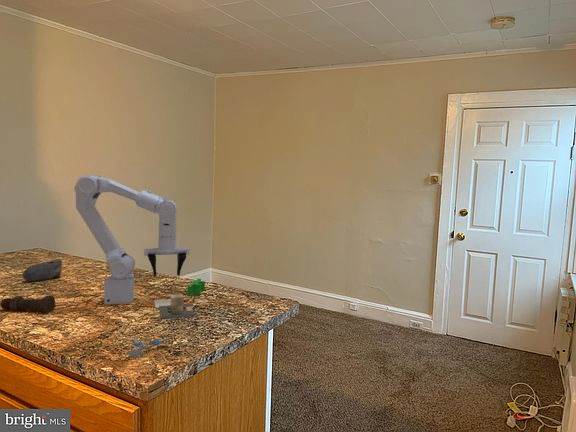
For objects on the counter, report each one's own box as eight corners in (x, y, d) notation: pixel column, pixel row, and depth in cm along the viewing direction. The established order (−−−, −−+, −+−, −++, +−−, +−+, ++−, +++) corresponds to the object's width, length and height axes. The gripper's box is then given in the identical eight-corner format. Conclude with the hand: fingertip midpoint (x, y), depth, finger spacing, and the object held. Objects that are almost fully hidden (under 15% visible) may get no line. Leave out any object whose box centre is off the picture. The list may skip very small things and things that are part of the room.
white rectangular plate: (155, 309, 136) (155, 307, 136) (153, 302, 144) (153, 300, 144) (174, 308, 138) (174, 306, 138) (172, 301, 146) (172, 298, 146)
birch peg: (171, 316, 131) (171, 297, 130) (170, 313, 134) (170, 294, 133) (183, 315, 132) (183, 297, 131) (181, 312, 135) (182, 294, 135)
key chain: (136, 359, 101) (136, 356, 101) (109, 353, 104) (109, 349, 104) (171, 339, 114) (171, 336, 114) (147, 333, 117) (147, 331, 117)
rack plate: (161, 321, 126) (161, 316, 126) (158, 310, 136) (159, 305, 135) (195, 318, 130) (195, 313, 130) (190, 308, 139) (190, 303, 139)
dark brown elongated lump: (5, 314, 132) (52, 315, 131) (-6, 311, 127) (43, 312, 126) (11, 296, 134) (57, 297, 133) (0, 292, 129) (48, 293, 129)
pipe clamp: (197, 299, 150) (197, 286, 149) (187, 298, 150) (187, 286, 150) (207, 290, 161) (207, 278, 160) (197, 289, 161) (198, 278, 161)
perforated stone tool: (25, 284, 158) (25, 266, 157) (19, 281, 161) (19, 263, 161) (66, 277, 170) (66, 260, 169) (60, 275, 173) (60, 258, 172)
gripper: (145, 238, 135) (144, 279, 137) (190, 237, 141) (190, 277, 142) (144, 234, 142) (143, 274, 143) (188, 234, 147) (187, 272, 149)
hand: (166, 275), depth 143 cm, fingers open, 7 cm apart
